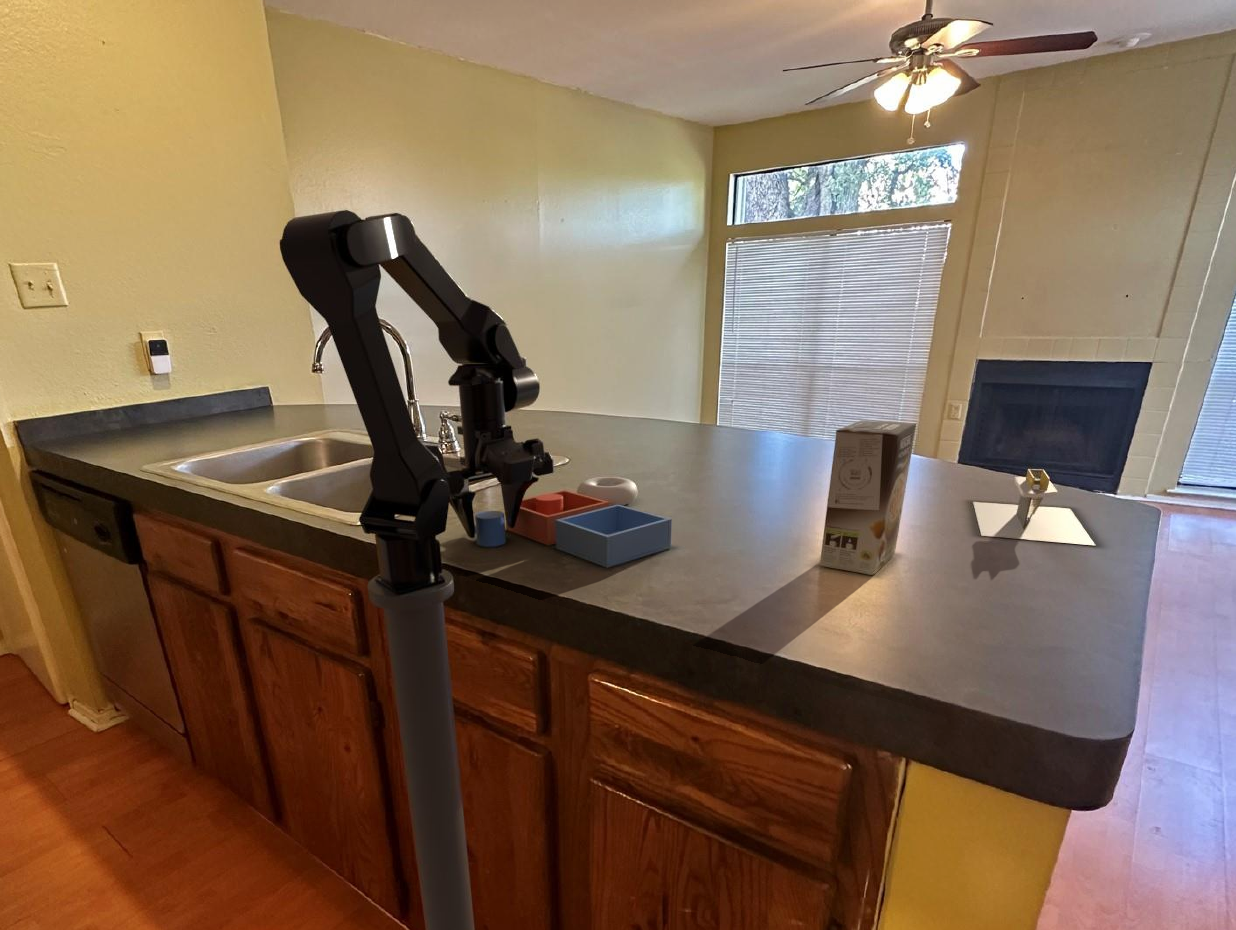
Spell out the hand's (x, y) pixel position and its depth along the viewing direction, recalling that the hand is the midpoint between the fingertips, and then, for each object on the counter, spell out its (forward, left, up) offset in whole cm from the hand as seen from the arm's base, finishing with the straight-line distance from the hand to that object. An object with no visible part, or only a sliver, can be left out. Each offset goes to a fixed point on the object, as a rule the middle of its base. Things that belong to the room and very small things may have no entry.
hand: (491, 532), depth 96 cm
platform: (+60, -44, -2) cm, 74 cm away
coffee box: (+29, -37, -2) cm, 47 cm away
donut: (+26, +5, -2) cm, 26 cm away
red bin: (+10, -2, -1) cm, 11 cm away
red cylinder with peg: (+10, -2, -1) cm, 10 cm away
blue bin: (+10, -14, -1) cm, 17 cm away
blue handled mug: (0, +2, -1) cm, 2 cm away
